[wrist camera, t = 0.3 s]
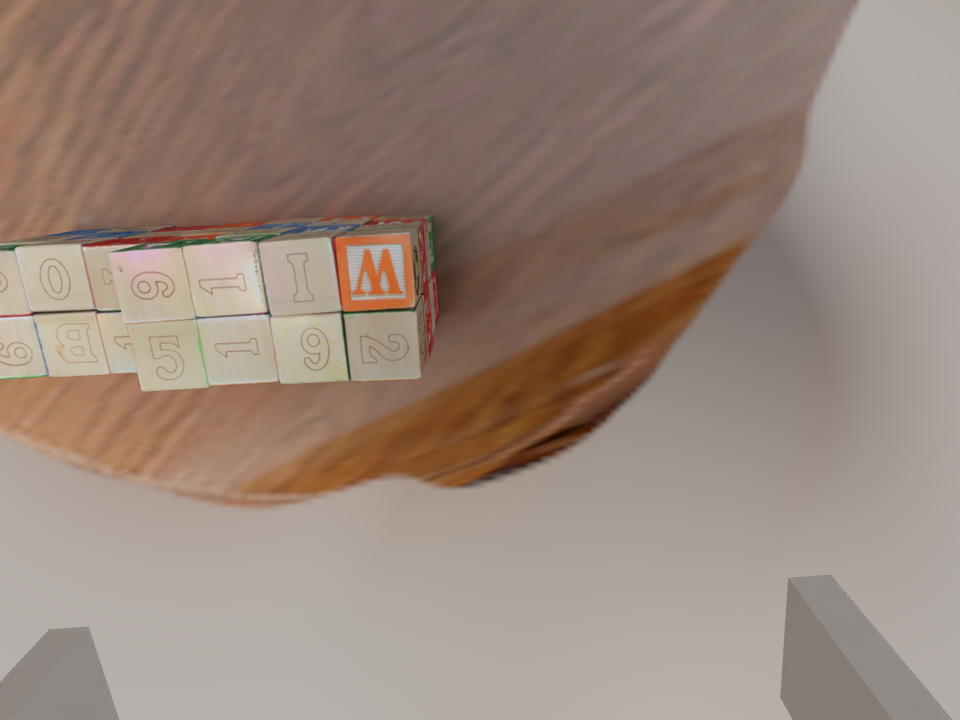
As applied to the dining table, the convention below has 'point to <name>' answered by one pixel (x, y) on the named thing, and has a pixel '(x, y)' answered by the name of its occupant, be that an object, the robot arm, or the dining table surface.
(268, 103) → the dining table surface
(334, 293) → the stack of blocks
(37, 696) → the robot arm
